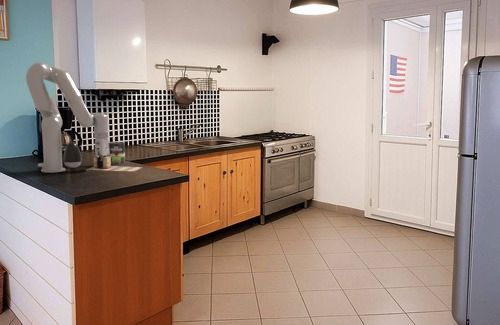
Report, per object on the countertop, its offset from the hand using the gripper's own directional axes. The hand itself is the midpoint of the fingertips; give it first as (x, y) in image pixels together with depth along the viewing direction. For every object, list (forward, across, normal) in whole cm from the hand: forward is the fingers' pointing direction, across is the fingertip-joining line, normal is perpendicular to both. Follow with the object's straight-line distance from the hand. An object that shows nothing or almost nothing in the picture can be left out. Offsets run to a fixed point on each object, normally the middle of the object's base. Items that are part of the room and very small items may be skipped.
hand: (102, 166), depth 260 cm
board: (+2, 0, -8) cm, 8 cm away
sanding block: (0, 0, 0) cm, 0 cm away
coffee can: (+2, +19, -1) cm, 19 cm away
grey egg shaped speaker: (+2, +6, +21) cm, 22 cm away
